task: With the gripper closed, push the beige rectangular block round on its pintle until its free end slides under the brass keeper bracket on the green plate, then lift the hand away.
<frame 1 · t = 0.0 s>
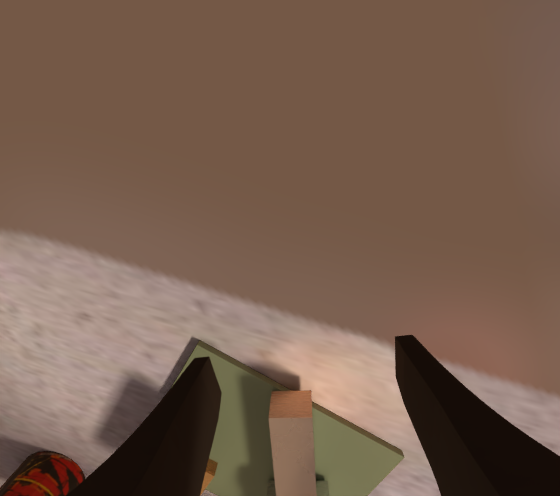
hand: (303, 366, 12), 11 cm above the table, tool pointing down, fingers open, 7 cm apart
deodorant: (55, 474, 30), on the table
beige rectangular block: (296, 477, 25), point 2 cm above the table, hinge at 0.0°
plate: (264, 448, 27), on the table
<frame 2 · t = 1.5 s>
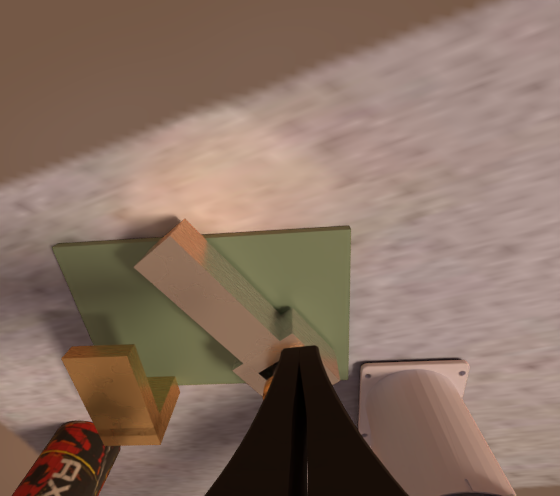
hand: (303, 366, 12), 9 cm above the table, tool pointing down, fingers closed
deodorant: (90, 439, 30), on the table
beige rectangular block: (242, 319, 20), point 2 cm above the table, hinge at 0.0°
plate: (215, 314, 23), on the table
keeper: (141, 350, 24), resting on plate
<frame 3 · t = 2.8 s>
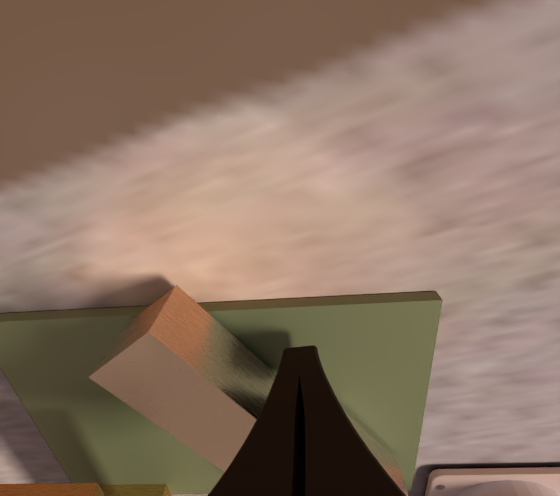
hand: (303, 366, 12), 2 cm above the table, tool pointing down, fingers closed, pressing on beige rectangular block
beige rectangular block: (267, 433, 13), point 2 cm above the table, hinge at 0.0°, touching gripper
plate: (224, 407, 16), on the table
keeper: (117, 453, 17), resting on plate
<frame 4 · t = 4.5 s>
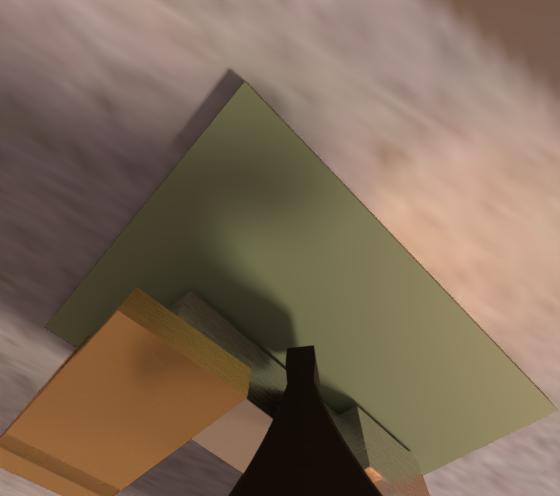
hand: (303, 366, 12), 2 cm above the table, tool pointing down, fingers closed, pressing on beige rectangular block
beige rectangular block: (285, 434, 13), point 2 cm above the table, hinge at 51.2°, touching gripper
plate: (311, 360, 14), on the table
keeper: (166, 324, 13), resting on plate
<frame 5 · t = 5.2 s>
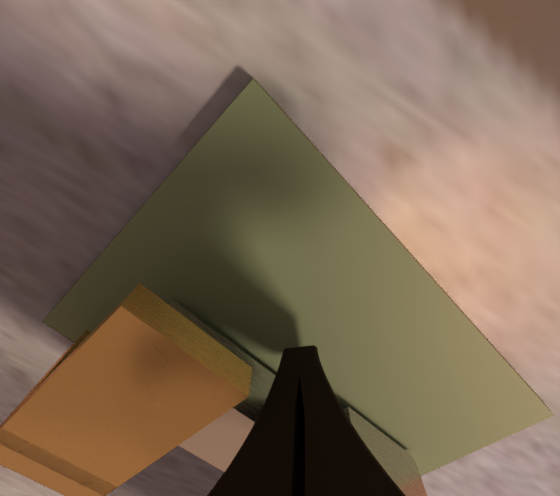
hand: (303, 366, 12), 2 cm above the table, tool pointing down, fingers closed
beige rectangular block: (275, 437, 13), point 2 cm above the table, hinge at 56.0°, touching gripper
plate: (310, 360, 14), on the table
keeper: (165, 321, 13), resting on plate
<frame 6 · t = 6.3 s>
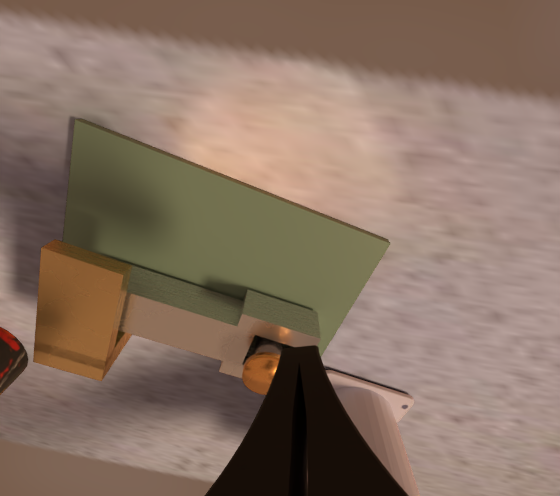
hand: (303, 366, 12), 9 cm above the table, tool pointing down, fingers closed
pintle: (270, 325, 23), resting on plate
beige rectangular block: (203, 321, 20), point 2 cm above the table, hinge at 56.0°
plate: (214, 269, 21), on the table
keeper: (115, 273, 21), resting on plate
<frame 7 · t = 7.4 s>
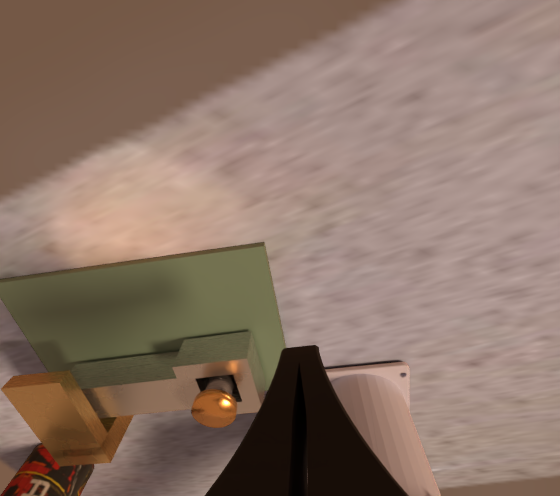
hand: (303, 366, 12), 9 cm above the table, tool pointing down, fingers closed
deodorant: (65, 458, 32), on the table
pintle: (226, 358, 24), resting on plate
beige rectangular block: (163, 381, 23), point 2 cm above the table, hinge at 56.0°
plate: (156, 334, 24), on the table
keeper: (92, 372, 25), resting on plate
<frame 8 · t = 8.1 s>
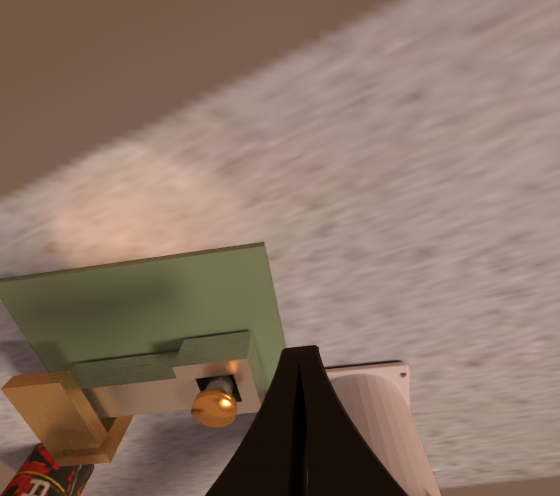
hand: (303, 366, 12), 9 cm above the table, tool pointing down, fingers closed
deodorant: (65, 458, 32), on the table
pintle: (226, 358, 24), resting on plate
beige rectangular block: (163, 381, 23), point 2 cm above the table, hinge at 56.0°
plate: (156, 334, 24), on the table
keeper: (92, 372, 25), resting on plate
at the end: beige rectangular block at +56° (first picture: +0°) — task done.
